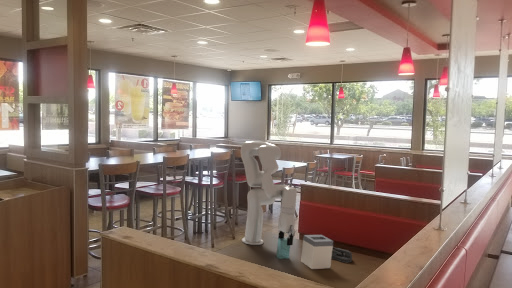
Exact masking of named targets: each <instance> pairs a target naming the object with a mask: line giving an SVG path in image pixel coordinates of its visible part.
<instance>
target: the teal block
mask: <svg viewBox="0 0 512 288" xmlns="http://www.w3.org/2000/svg"><path fill="white" fill-rule="evenodd" d="M277 238H278V237H277ZM287 238H288V237H284V238H278V239H277V246H276V256H275V257H276V258H277V259H279V260H284V259H285V260H286V259H289V258H290V251H291V245H287Z"/></svg>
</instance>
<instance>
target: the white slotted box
mask: <svg viewBox="0 0 512 288" xmlns="http://www.w3.org/2000/svg"><path fill="white" fill-rule="evenodd" d="M301 246H302V247H301V249H302V250H301V257H300V262H301V263H303V264H304V265H305V266H306V267H308V268H310V269H311V270H319V269H331V265H332V258H331V257H332V248H333V247H334V240H332V239H330V238H328V237H326V236H325V235H323V234H304V235H303V239H302V245H301Z"/></svg>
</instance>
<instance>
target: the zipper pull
mask: <svg viewBox="0 0 512 288" xmlns="http://www.w3.org/2000/svg"><path fill="white" fill-rule="evenodd" d="M331 260H334V261H338V262H340V263H345V264H347V263H351V262H352V260H353V255H352V252H351V251H349V250H348V249H344V248H343V249H342V248H339V247H335V246H333V248H332V257H331Z"/></svg>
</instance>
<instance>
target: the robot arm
mask: <svg viewBox="0 0 512 288" xmlns="http://www.w3.org/2000/svg"><path fill="white" fill-rule="evenodd" d="M254 156H258V158H259V161H260V164H261V166H262V169H263V170H260V167H259V162H258V160H257V159H256V158H255V157H254ZM240 157H241V161H242V162H243V166H244V171H245V178H246V182H247V185H248V186H249V187H251V188H252V189H250V190H249V191H248V192H247V196H246V197H247V211H246V212H247V213H246V223H245V232H244V237H243V238H241V242H242V243H244V244H247V245H252V246H260V245H262V244H263V243H264V240H263V239H262V233H263V232H262V231H263V222H264V221H263V220H264V210H263V207H262V206H266V205H268V206H269V205H272V204H274V203H275V202H276V200H277V199H281V202H280V203H281V207H280V213H279V217H278V223H277V229H278V230H277V231H278V237H277V238H285V234H287V235H286V236H287V237H286V238H287V245H290V246H293V245H294V243H293V242H294V238H295V237H294V236H295V235H296V230H295V218H296V217H295V215H296V203H297V193H298V191H297V188H295V187H293V186H292V187H291V186H289V185H286V184H275V183H274V180H273V176H272V175H273V174H275V173H276V172H278V170H279V168H280V167H279V165H278V162H277V161H278V160H280V159H281V157H282V151H281V148H280V147H279V146H278V145H275V144H272V143H269V142H267V141H266V142H265V141H256V140H255V141H254V140H248V141H245V142H243V143H242V145H241V148H240Z"/></svg>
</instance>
